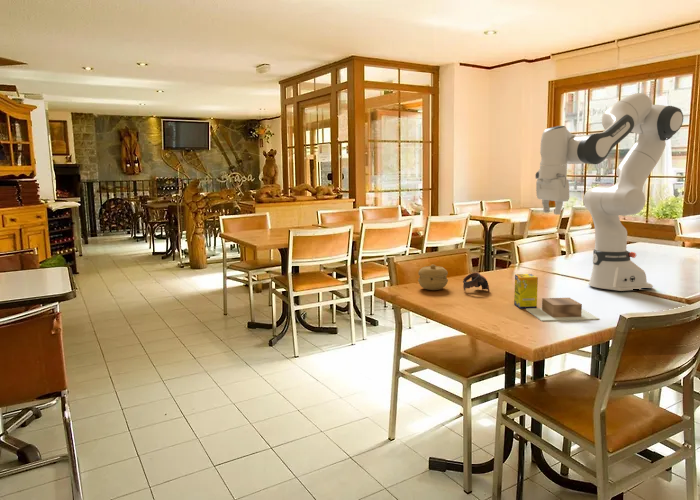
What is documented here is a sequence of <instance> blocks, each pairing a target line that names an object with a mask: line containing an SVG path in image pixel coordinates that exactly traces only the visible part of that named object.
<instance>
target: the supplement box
mask: <svg viewBox="0 0 700 500" xmlns="http://www.w3.org/2000/svg"><path fill="white" fill-rule="evenodd" d="M538 278H539V277H538V276H535V275H533V274H532V273H517V274H514V296H513V297H514V301H513V302H514V303H513V304H514V306H516V307H517V308H518V309H520V310H526V309H527V308H538V282H539V281H538Z"/></svg>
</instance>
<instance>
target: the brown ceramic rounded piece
mask: <svg viewBox="0 0 700 500" xmlns="http://www.w3.org/2000/svg"><path fill="white" fill-rule="evenodd" d="M470 279H471V280H470ZM462 283H463V286H462V289H463V291H464V292H466V289H470V288H473V287H475V288H480V287H481V290H483V291H484V290H487V292H488V293H489V292H490V286H489V282H488V280H487V278H486V277H485V276H483V275H481V274H480V272H477V271H476V272H471V273H470V274H468V275H466V276H465V277H464V278H463V280H462Z"/></svg>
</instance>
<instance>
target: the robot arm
mask: <svg viewBox="0 0 700 500" xmlns="http://www.w3.org/2000/svg"><path fill="white" fill-rule="evenodd" d="M683 122H684V114H683V110H682V109H681V108H680V107H677V106H674V105H673V106H672V105H663V104H653V102H652V99H651V98H650V97H649V96H648V95H647V94H645V93H643V92H642V93H641V92H636V93H633V94H632V93H631V94H630V95H627V96H626V97H623V98H621V99H620V100H618V101H616V102H615V103H614V104H612V105H611V106H610V107H608V108H607V109H606V110H605V111H604V112H603V114H602V117H601V124H602V127H603V129H604V131H602V132H596V133H592V134H584V135H575V134H573V133H572V132H570V131H569V130H568V129H567V126H565V125H556V126H551V127H548V128H546V129H544V130H543V132H542V134H541V139H540V151H539V153H540V158H541V160H540V163H539V169H538V171H537V172H535V175H534V176H535V180H536V185H535V187H536V188H535V191H536V192H535V193H536V198H537V200H541V204H542V208H543V210H542V212H543V213H547V214H548V213H550V210H551V208H550V204H549V203H550V201H551V202H554V205H555V207H554V209H553V214H554V215H561V213H562V208H563V205H564V203H565V202H569V200H570V182H569V179H567V177H568V175H567V171H568V165H578V164H582V165H585V164H587V165H598V164H601V163H602V162H604V161H605V160H606V159H607V157H608V156H609V154H610V153H611V151H612V150H613V149H614V147H616V146H617V145H618V144H619V143H620V142H622V141H623V140H624V139H625V138H626V137H628V135H629V134H638V139H637V140H636V141H635V142H634V144H633V145H632V146H631V147H630V148H629V150H628V152H627V153H626V154H625V155H624V156H623V158H622V160H621V161H620V163H619V165H618V166H617V167H616V175H617V177H618V179H617V181H616V182H615V184H613V185H598V186H594V187H591V188H589V189H587V190H586V191H585V193H584V195H583V201H582V202H583V205H584V207H585V208H586V209H587V211H588V212H589V215H591V218H592V222H593V225H594V249H593V254H592V264H593V266H592V270H591V271H592V272H591V275H590V278H589V282H588V286H591V287H593V288H598V289H604V290H611V291H619V292H620V291H621V292H622V291H623V292H624V291H625V292H626V291H634V290H633V289H639V290H642V289H641V288H652V287H653V288H654V285H653V284H652V283H650V282H647V280H648V279H647V274H646V271H645V270H644V269H643V268H641V267H640V266H638V265H637V263H635V262H634V261H632V260H631V258H633V259H634V258H636V257H637V255H636V252H635V251H634V252H633V251H628V250H627V248H628V246H627V243H628V230H627V228H626V227H625V226H624V225H623V224H622V222H621V219H620V216H632V215H636V214H639V213H640V212H642V210H643V209H644V207H645V205H646V196H645V193H644V192H643V189H644V186H645V182H646V181H647V179H648V178H649V176H650V174H651V173H652V171H653V170H654V168H656V166H657V165H658V163H659V161H660V159H661V157H662V155H663V153H664V151H665V149H666V146H667V145H666V141H668V140H670V139H672V137H673V136H674V135H676V134H677V132H678V131H679V130H680V129H681V127H683V126H682V125H683ZM653 288H652V289H653Z"/></svg>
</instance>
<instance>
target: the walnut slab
mask: <svg viewBox="0 0 700 500" xmlns="http://www.w3.org/2000/svg"><path fill="white" fill-rule="evenodd" d="M582 307H583V305H582V303H580V302H578V301H577V300H575V299H573V298H571V297H545V298H542V300H541V308H542V310H543V311H544V312H546V313H547V314H549V315H550V316H552V317H581V313H582V309H583V308H582Z"/></svg>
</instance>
